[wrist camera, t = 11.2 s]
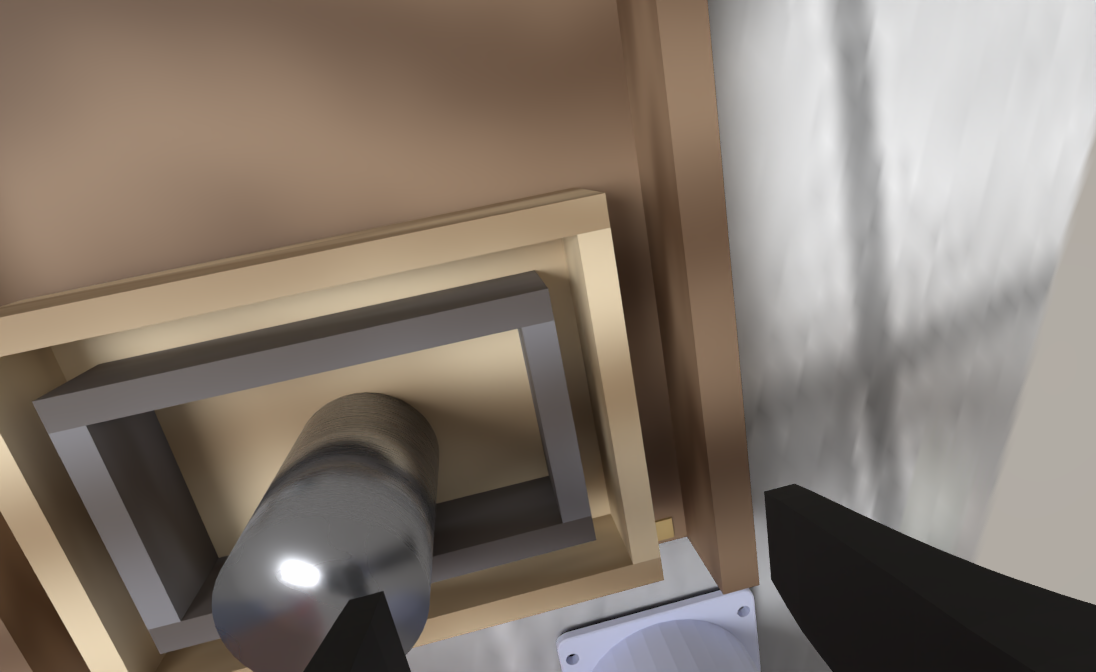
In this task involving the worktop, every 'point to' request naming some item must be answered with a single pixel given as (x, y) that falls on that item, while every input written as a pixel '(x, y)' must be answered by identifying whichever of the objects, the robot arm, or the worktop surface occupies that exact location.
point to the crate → (307, 385)
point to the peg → (334, 534)
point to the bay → (383, 184)
